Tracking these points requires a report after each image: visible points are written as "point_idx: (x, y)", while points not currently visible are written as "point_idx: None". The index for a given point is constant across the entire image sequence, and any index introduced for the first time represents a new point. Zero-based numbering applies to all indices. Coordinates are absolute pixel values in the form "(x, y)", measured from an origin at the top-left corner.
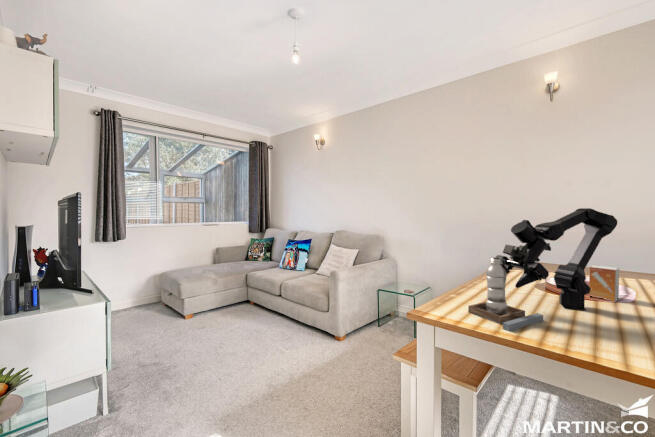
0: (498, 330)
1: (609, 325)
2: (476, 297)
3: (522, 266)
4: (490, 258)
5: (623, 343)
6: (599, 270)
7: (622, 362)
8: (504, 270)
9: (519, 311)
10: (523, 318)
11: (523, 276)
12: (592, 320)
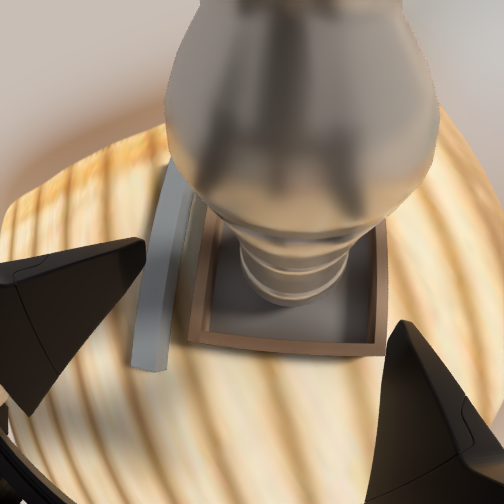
0: None
1: (52, 454)
2: (474, 407)
3: (20, 491)
4: None
5: None
6: None
7: (15, 226)
8: (170, 81)
9: (197, 305)
10: (160, 247)
11: (31, 264)
12: (81, 475)
